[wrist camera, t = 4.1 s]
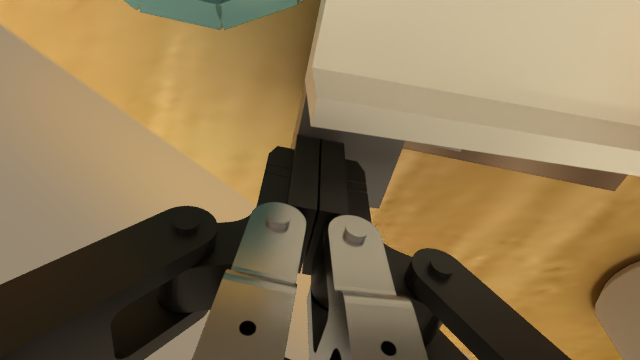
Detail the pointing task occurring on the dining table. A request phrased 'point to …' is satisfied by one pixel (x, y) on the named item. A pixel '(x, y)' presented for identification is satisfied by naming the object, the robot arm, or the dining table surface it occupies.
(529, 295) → the dining table surface
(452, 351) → the robot arm
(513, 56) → the cream shallow tray
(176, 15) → the teal round bowl
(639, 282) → the can
